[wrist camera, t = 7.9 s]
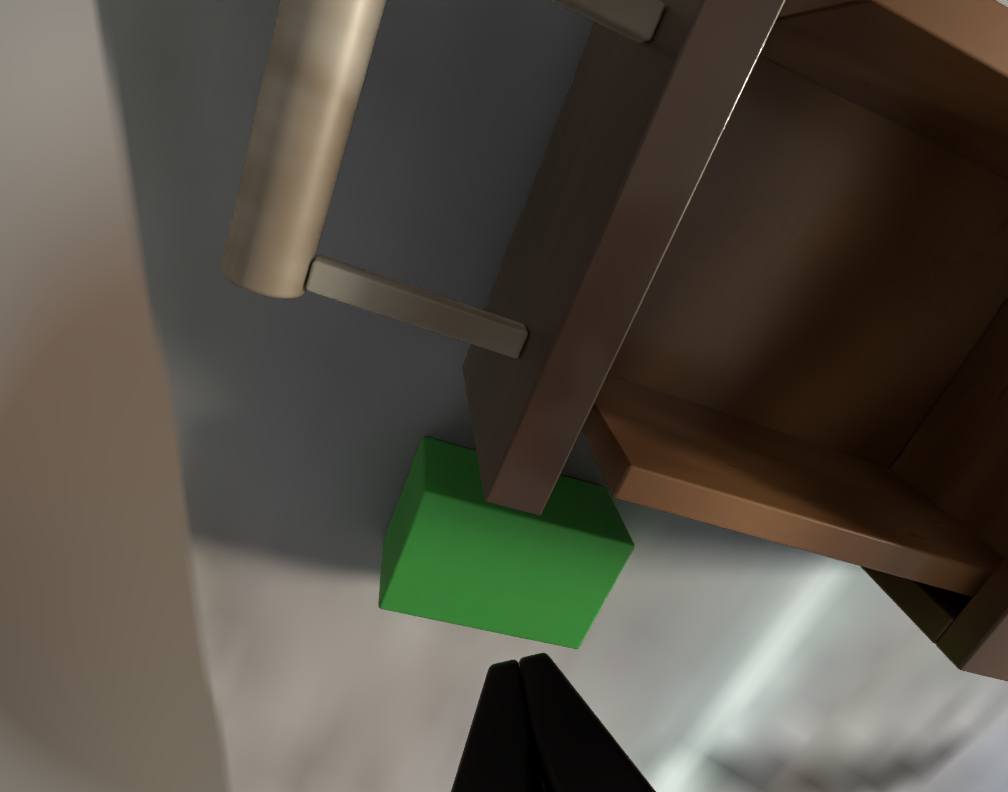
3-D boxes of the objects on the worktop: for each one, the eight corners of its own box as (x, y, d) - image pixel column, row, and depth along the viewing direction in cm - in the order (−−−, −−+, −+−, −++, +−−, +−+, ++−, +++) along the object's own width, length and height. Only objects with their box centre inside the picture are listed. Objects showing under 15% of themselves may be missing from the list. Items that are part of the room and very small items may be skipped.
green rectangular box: (558, 582, 23) (578, 650, 20) (382, 541, 22) (377, 609, 19) (607, 486, 22) (636, 546, 19) (422, 434, 20) (424, 490, 17)
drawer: (254, 303, 17) (163, 418, 11) (384, -216, 13) (356, -495, 7) (861, 493, 22) (1031, 644, 16) (1086, 162, 18) (1425, 195, 12)
